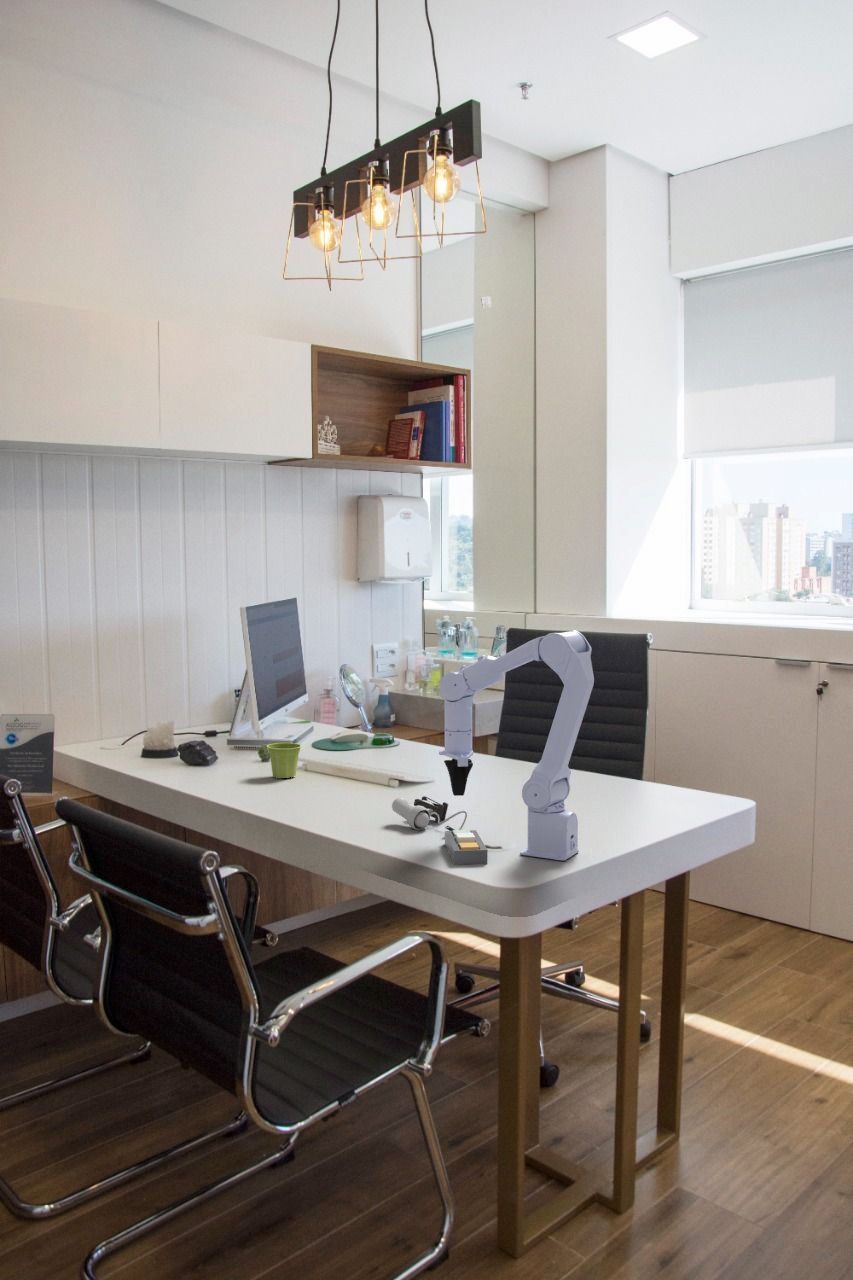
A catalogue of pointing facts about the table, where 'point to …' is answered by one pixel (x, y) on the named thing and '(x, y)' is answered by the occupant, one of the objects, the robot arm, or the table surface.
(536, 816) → the robot arm
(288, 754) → the plant pot
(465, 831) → the sage key
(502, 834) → the table surface
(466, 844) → the amber key
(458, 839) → the middle key
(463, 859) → the keypad
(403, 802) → the clip-on lamp
